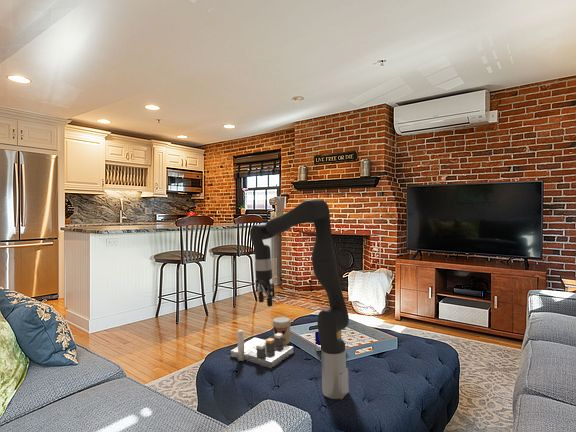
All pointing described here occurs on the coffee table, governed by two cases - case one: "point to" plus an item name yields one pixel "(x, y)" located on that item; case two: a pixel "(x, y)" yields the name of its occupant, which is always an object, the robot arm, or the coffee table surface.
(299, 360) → the coffee table surface
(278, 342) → the toggle
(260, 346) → the toggle
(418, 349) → the coffee table surface
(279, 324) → the coffee cup
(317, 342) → the puzzle cube
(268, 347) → the toggle
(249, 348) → the breaker panel
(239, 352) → the post
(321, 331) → the robot arm
